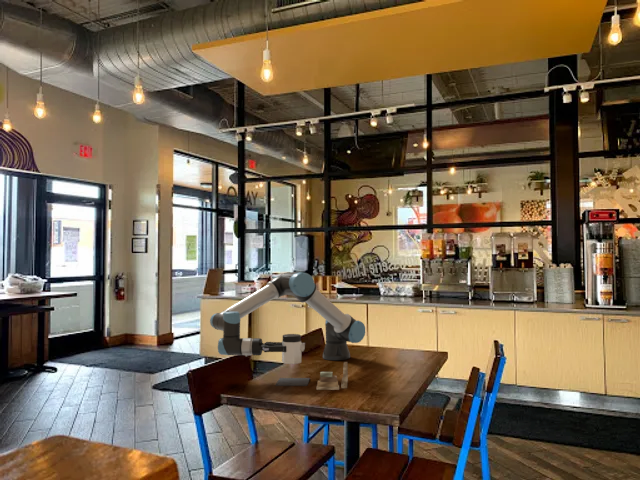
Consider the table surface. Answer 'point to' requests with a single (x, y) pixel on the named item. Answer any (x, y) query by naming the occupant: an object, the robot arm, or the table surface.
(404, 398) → the table surface
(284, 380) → the mat
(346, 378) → the rack
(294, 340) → the jar
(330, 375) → the offcuts
